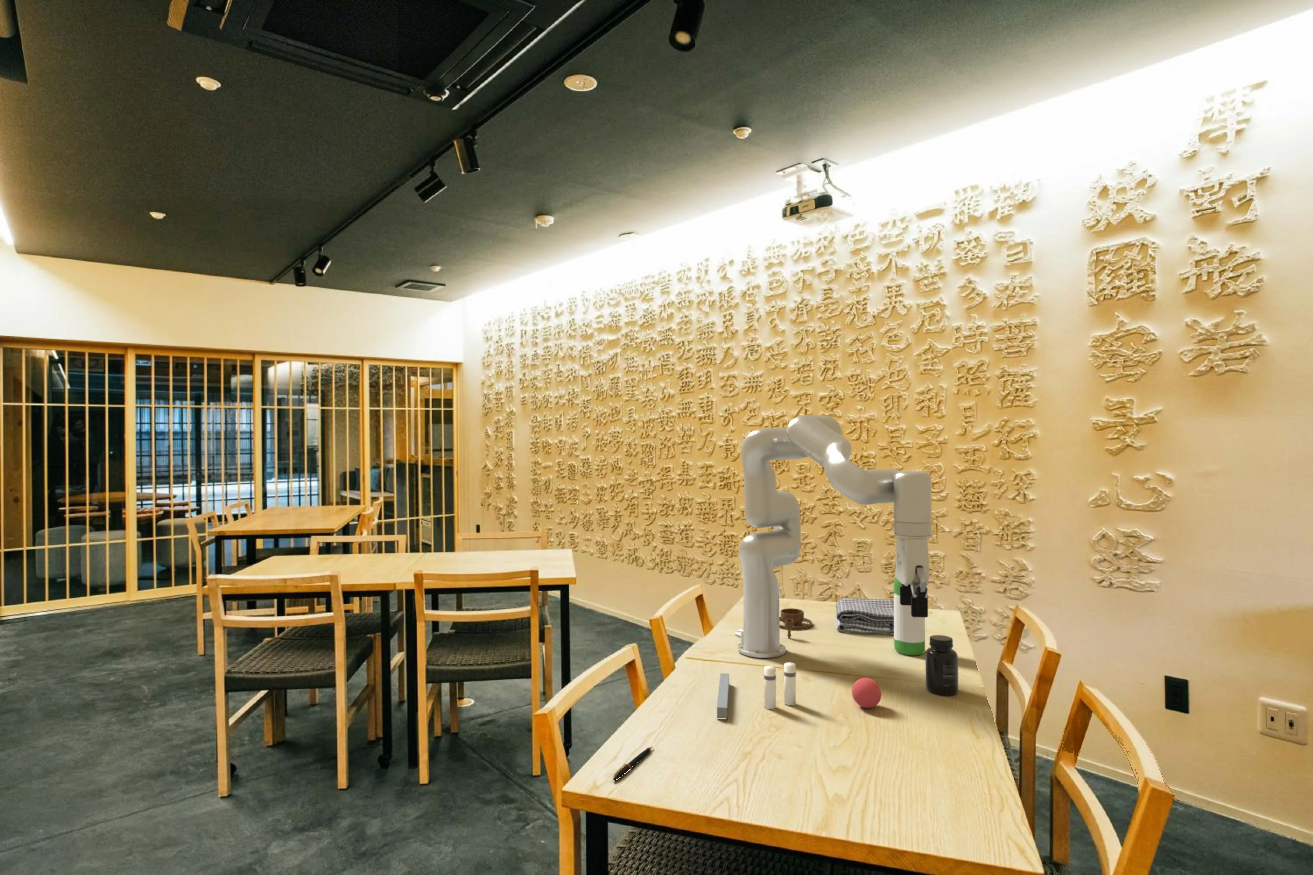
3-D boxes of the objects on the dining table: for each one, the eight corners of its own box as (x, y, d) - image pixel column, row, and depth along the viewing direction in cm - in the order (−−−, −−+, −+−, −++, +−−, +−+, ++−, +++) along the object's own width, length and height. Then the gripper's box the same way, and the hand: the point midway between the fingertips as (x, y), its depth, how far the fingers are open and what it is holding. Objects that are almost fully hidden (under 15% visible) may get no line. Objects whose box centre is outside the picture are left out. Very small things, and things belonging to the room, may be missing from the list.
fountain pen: (650, 748, 128) (650, 740, 128) (656, 749, 127) (656, 741, 127) (609, 783, 115) (609, 774, 115) (615, 785, 114) (615, 776, 114)
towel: (835, 620, 214) (834, 595, 214) (896, 623, 210) (896, 597, 210) (836, 634, 200) (836, 607, 200) (902, 637, 195) (902, 610, 195)
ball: (846, 705, 146) (845, 677, 146) (863, 699, 150) (863, 671, 150) (870, 715, 141) (870, 686, 141) (887, 707, 145) (887, 679, 145)
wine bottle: (912, 658, 177) (911, 542, 176) (887, 650, 183) (887, 538, 183) (931, 653, 181) (931, 539, 181) (906, 645, 187) (906, 535, 187)
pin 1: (761, 706, 146) (761, 667, 146) (769, 703, 148) (769, 664, 147) (770, 710, 144) (770, 670, 144) (778, 707, 146) (778, 667, 145)
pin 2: (781, 703, 148) (781, 663, 148) (789, 700, 149) (789, 661, 149) (790, 706, 146) (790, 667, 146) (798, 703, 147) (798, 664, 147)
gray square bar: (720, 683, 160) (720, 673, 160) (729, 684, 159) (729, 673, 159) (717, 719, 140) (716, 707, 140) (726, 719, 139) (726, 707, 139)
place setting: (828, 628, 207) (828, 608, 207) (792, 643, 192) (792, 622, 192) (779, 618, 219) (779, 599, 219) (741, 631, 204) (741, 611, 204)
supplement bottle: (958, 687, 156) (958, 635, 156) (958, 698, 150) (957, 643, 150) (926, 683, 159) (926, 631, 159) (924, 693, 153) (924, 639, 153)
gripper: (885, 524, 154) (886, 600, 154) (904, 535, 136) (904, 621, 137) (920, 524, 153) (921, 601, 153) (943, 535, 136) (944, 622, 136)
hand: (913, 610), depth 145 cm, fingers open, 9 cm apart
